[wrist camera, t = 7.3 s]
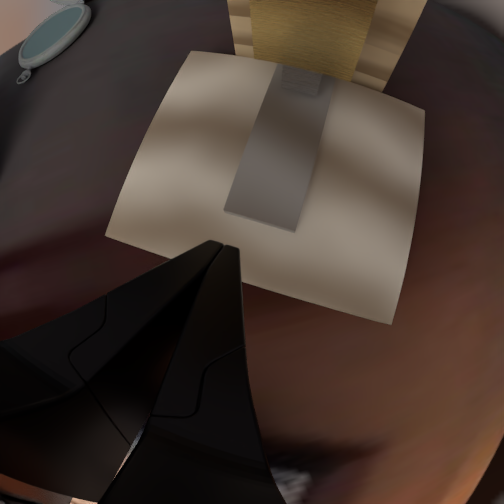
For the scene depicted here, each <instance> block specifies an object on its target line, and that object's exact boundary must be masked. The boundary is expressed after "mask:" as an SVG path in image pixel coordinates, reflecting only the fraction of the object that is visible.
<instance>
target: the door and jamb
mask: <svg viewBox="0 0 504 504" xmlns="http://www.w3.org/2000/svg"><path fill="white" fill-rule="evenodd" d="M227 2H228V9H229V15H230V21H231V28H232V34H233V41H234V47H235V54H236V56H235V55H227V54H219V53H210V52H199V51H191V52H190V54H189V56H188V57H187V59H186V60H185V62H184V64H183V65H182V67H181V69H180V71H179V72H178V74H177V76H176V77H175V79H174V81H173V83H172V84H171V86H170V88H169V90H168V92H167V94H166V95H165V97H164V99H163V101H162V103H161V105H160V107H159V109H158V111H157V112H156V114H155V116H154V118H153V120H152V122H151V124H150V127H149V129H148V131H147V133H146V135H145V137H144V139H143V141H142V143H141V146H140V148H139V150H138V152H137V154H136V157H135V159H134V161H133V164H132V166H131V168H130V171H129V173H128V175H127V178H126V180H125V183H124V185H123V188H122V190H121V193H120V195H119V198H118V201H117V203H116V206H115V209H114V211H113V214H112V217H111V220H110V223H109V225H108V228H107V231H106V234H105V236H107V237H110V238H113V239H115V240H118V241H121V242H124V243H126V244H129V245H132V246H135V247H138V248H141V249H144V250H147V251H150V252H153V253H156V254H158V255H161V256H164V257H167V258H170V259H172V258H174V257H176V256H178V255H180V254H182V253H184V252H186V251H188V250H190V249H192V248H193V247H195V246H197V245H199V244H201V243H203V242H205V241H207V240H214V241H218V242H221V243H223V244H224V245H226V244H227V245H231V246H234V247H237V248H239V249H240V260H241V278H242V282H244V283H248V284H251V285H254V286H257V287H260V288H264V289H267V290H270V291H273V292H277V293H280V294H283V295H287V296H290V297H293V298H297V299H300V300H303V301H307V302H310V303H314V304H317V305H320V306H324V307H327V308H331V309H334V310H338V311H341V312H345V313H348V314H352V315H355V316H359V317H363V318H366V319H370V320H374V321H377V322H381V323H385V324H389V325H391V324H392V321H393V317H394V314H395V310H396V307H397V303H398V299H399V295H400V291H401V287H402V283H403V279H404V275H405V270H406V266H407V261H408V256H409V251H410V246H411V241H412V235H413V230H414V224H415V218H416V211H417V204H418V197H419V189H420V180H421V170H422V159H423V145H424V125H425V111H424V110H422V109H420V108H418V107H415V106H413V105H411V104H408V103H406V102H404V101H401V100H399V99H396V98H394V97H391V96H389V95H386V94H384V93H382V91H383V89H384V87H385V85H386V84H387V82H388V80H389V78H390V76H391V74H392V72H393V70H394V68H395V66H396V64H397V62H398V60H399V58H400V56H401V54H402V52H403V50H404V48H405V46H406V44H407V42H408V40H409V38H410V36H411V33H412V31H413V29H414V27H415V25H416V23H417V21H418V19H419V17H420V15H421V12H422V10H423V8H424V6H425V4H426V2H427V0H378V2H377V5H376V8H375V11H374V14H373V18H372V21H371V24H370V27H369V30H368V33H367V36H366V39H365V42H364V45H363V48H362V51H361V53H360V56H359V59H358V62H357V65H356V68H355V71H354V74H353V77H352V79H351V82H348V81H345V80H341V79H338V78H335V77H331V76H328V75H324V74H323V75H322V79H321V82H320V86H319V89H318V93H317V96H315V95H311V94H307V93H303V92H299V91H295V90H291V89H287V88H283V87H282V67H283V64H279V63H274V62H269V61H263V60H258V59H254V52H253V39H252V27H251V15H250V4H249V0H227Z"/></svg>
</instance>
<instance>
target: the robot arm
mask: <svg viewBox="0 0 504 504" xmlns="http://www.w3.org/2000/svg"><path fill="white" fill-rule="evenodd" d="M245 347H246V343H245V327H244V311H243V295H242V278H241V260H240V249H239V248H237V247H234V246H231V245H227V244H226V245H224V244H223V243H221V242H218V241H214V240H207V241H205V242H203V243H201V244H199V245H197V246H195V247H193V248H192V249H190V250H188V251H186V252H184V253H182V254H180V255H178V256H176V257H174V258H172V259H170V260H168V261H166V262H164V263H163V264H161V265H159V266H157V267H155V268H153V269H151V270H149V271H147V272H145V273H144V274H142V275H140V276H138V277H136V278H134V279H132V280H130V281H129V282H127V283H125V284H123V285H121V286H119V287H117V288H116V289H114V290H112V291H110V292H108V293H107V295H103V296H101V297H99V298H97V299H95V300H93V301H92V302H90V303H88V304H86V305H84V306H82V307H80V308H78V309H76V310H74V311H72V312H70V313H68V314H65V315H63V316H61V317H59V318H57V319H55V320H52V321H50V322H48V323H45V324H43V325H41V326H39V327H36V328H34V329H32V330H29V331H27V332H25V333H23V334H20V335H18V336H16V337H13V338H11V339H7V340H4V341H0V504H70V502H71V500H72V498H73V497H74V498H78V499H82V500H87V501H92V502H97V503H98V504H286V502H285V500H284V498H283V497H282V495H281V493H280V491H279V489H278V487H277V485H276V483H275V481H274V478H273V476H272V473H271V470H270V467H269V464H268V461H267V457H266V454H265V450H264V446H263V442H262V438H261V434H260V430H259V426H258V422H257V417H256V413H255V409H254V405H253V400H252V395H251V389H250V384H249V376H248V367H247V356H246V348H245ZM151 409H152V410H151ZM150 411H151V413H150ZM149 413H150V417H149V419H148V421H147V424H146V426H145V429H144V431H143V433H142V435H141V437H140V440H139V441H138V443H137V445H136V446H135V448H134V449H133V451H132V452H131V454H130V455H129V457H128V458H127V460H126V461H125V463H124V464H123V466H122V467H121V469H120V470H119V468H120V466H121V464H122V462H123V460H124V459H125V457H126V455H127V453H128V451H129V449H130V448H131V446H130V445H132V444H133V442H134V440H135V438H136V436H137V434H138V433H139V431H140V429H141V427H142V425H143V423H144V422H145V420H146V418H147V416H148V414H149ZM118 470H119V472H118V473H117V471H118ZM116 473H117V475H116ZM115 475H116V476H115ZM114 477H115V478H114ZM113 479H114V480H113Z"/></svg>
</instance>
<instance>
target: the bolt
mask: <svg viewBox="0 0 504 504" xmlns="http://www.w3.org/2000/svg"><path fill="white" fill-rule="evenodd" d="M377 2H378V0H249V4H250V15H251V27H252V39H253V52H254V59H258V60H263V61H269V62H274V63H279V64H283V67H282V87H283V88H287V89H291V90H295V91H299V92H303V93H307V94H311V95H315V96H317V93H318V89H319V86H320V82H321V79H322V75H323V74H324V75H328V76H331V77H335V78H338V79H341V80H345V81H348V82H351V79H352V77H353V74H354V71H355V68H356V65H357V62H358V59H359V56H360V53H361V51H362V48H363V45H364V42H365V39H366V36H367V33H368V30H369V27H370V24H371V21H372V18H373V14H374V11H375V8H376V5H377Z"/></svg>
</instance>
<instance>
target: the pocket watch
mask: <svg viewBox="0 0 504 504" xmlns="http://www.w3.org/2000/svg"><path fill="white" fill-rule="evenodd" d="M50 1H52V2H54V3H57V4H61V5H67V6H65V7H64V8H62V9H61V10H59V11H57V12H55V13H54V14H52V15H51V16H49V17H48V18H47V19H45V20H44V21H43V22H42V23H41V24H39V25H38V26H37V27H36V28H35V29H34V30H33V31H32V33H31V34H30V35H29V36H28V37H27V39H26V40H25V42H24V43H23V45H22V47H21V49H20V51H19V64H20V66H21V67H22V68H26V69H27V70H25V71H23V73H22V74H21V75H20V76H19V78H20V77H21V79H22V80H24V81H23V82H18V80H19V78H18V79H17V84H22V83H24V82H25V81H27V80H28V79H29V77H30V76H31V71H30V70H31V69H32V68H36V67H38V66H40V65H43V64H45V63H46V62H48V61H50V60H52V59H53V58H55V57H56V56H57V55H59V54H60V53H61V52H63V51H64V50H65V49H66V48H67V47H69V46H70V45H71V44H72V43H73V42H74V41H75V40H76V39H77V38H78V37H79V35H80V34H81V33H82V32H83V30H84V29H85V28H86V26H87V25H88V23H89V21H90V18H91V9H90V8H89V6H87V5H84V1H80V0H50ZM79 1H80V2H79ZM27 77H28V78H27Z"/></svg>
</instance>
